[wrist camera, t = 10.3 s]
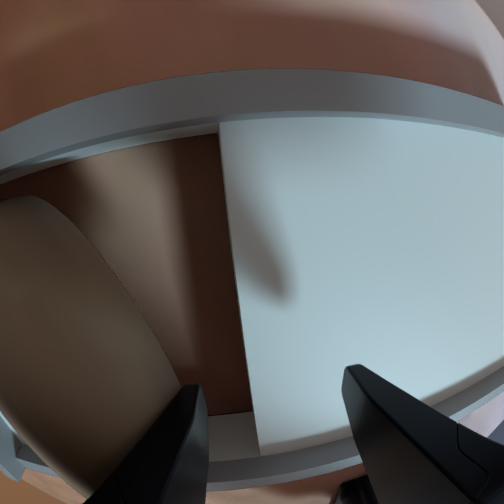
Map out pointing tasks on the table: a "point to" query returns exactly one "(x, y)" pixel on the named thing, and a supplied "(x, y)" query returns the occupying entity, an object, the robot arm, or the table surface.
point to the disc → (73, 348)
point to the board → (322, 245)
